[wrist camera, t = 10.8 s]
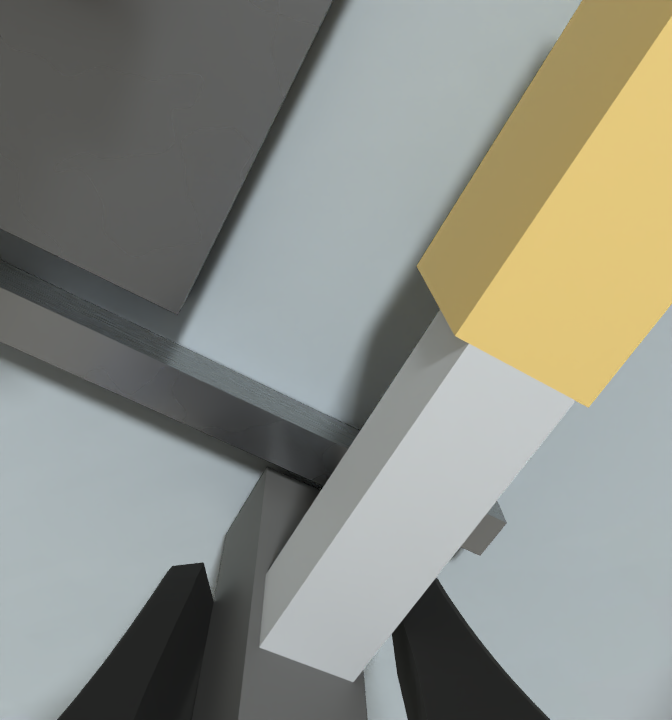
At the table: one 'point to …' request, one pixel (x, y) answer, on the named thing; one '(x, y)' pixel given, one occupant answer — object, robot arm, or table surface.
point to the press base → (150, 196)
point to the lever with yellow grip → (465, 376)
